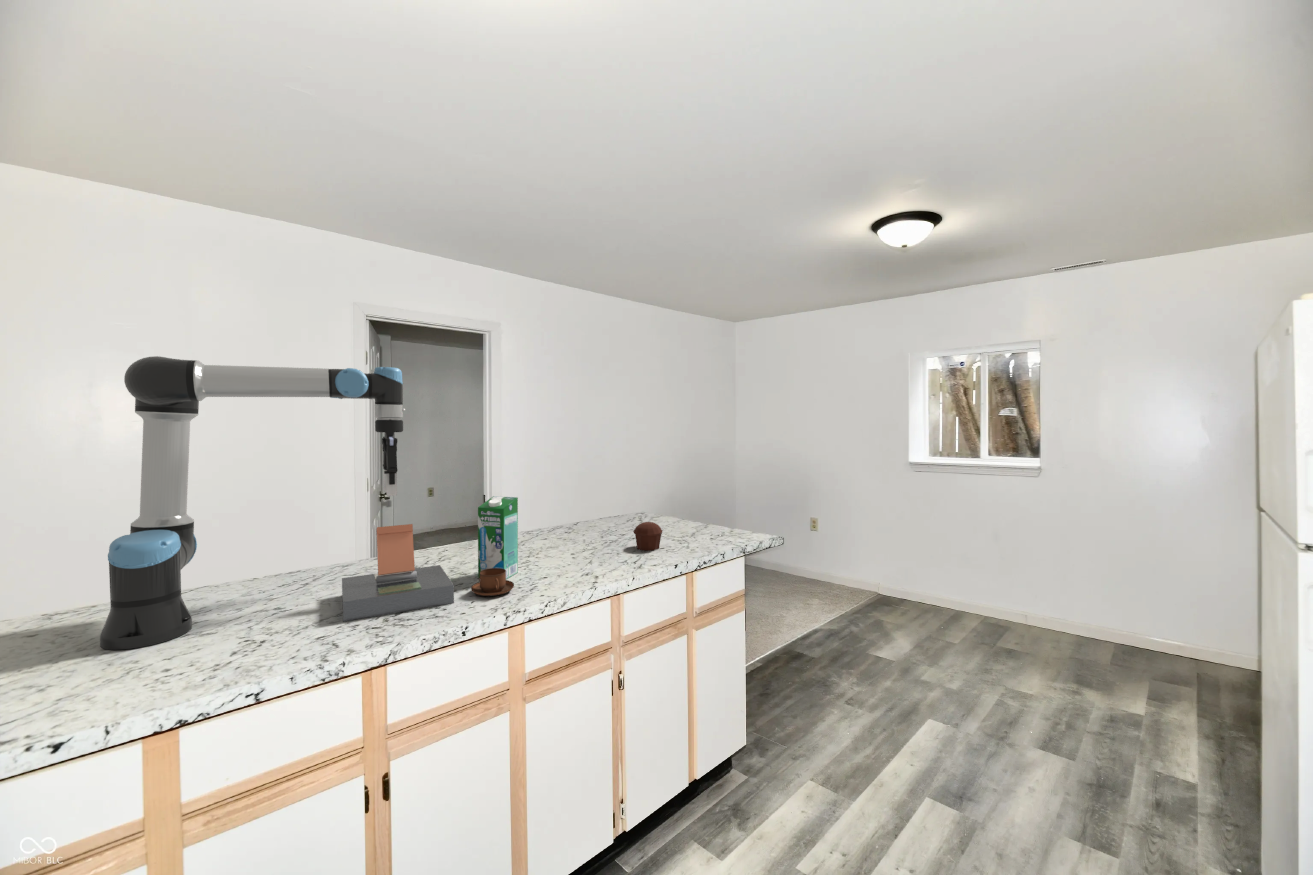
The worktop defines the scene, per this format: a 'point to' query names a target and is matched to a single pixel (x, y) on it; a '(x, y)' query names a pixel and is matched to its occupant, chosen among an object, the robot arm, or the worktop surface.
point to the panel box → (395, 593)
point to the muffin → (648, 536)
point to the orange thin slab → (395, 553)
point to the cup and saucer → (492, 583)
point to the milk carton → (498, 535)
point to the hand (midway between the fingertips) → (390, 493)
